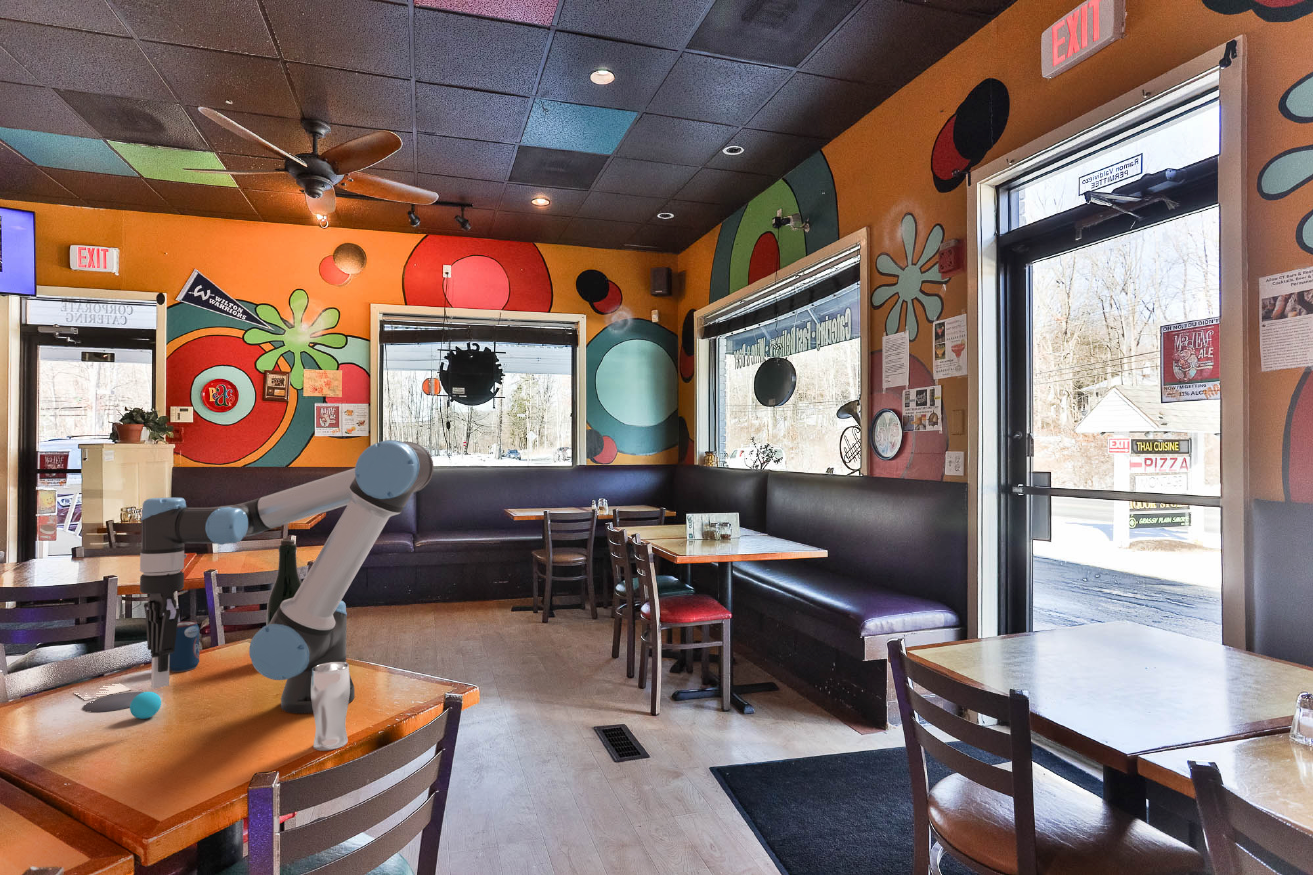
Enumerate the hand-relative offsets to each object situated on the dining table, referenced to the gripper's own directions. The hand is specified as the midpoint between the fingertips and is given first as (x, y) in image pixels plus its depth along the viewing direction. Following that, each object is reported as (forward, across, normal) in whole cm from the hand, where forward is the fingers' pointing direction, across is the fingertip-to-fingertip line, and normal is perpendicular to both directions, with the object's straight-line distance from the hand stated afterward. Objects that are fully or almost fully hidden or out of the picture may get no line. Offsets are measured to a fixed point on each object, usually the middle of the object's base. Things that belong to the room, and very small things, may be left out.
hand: (160, 686), depth 148 cm
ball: (+6, +9, 0) cm, 11 cm away
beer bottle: (+9, +28, -39) cm, 49 cm away
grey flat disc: (+9, +26, 0) cm, 27 cm away
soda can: (+9, +43, -19) cm, 48 cm away
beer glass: (+8, -37, -17) cm, 42 cm away
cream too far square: (+9, +38, 0) cm, 39 cm away
